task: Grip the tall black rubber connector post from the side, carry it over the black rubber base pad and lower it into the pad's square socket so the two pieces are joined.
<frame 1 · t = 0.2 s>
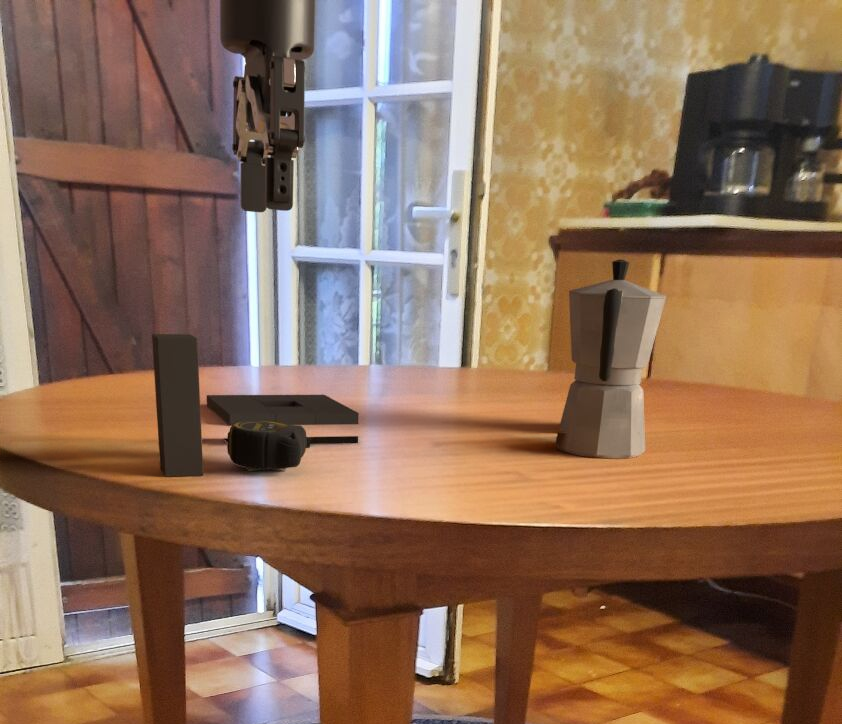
hand: (265, 210, 91), 21 cm above the table, tool pointing down, fingers open, 8 cm apart
coffeepot: (598, 454, 110), on the table
base pad: (280, 433, 112), on the table
tape measure: (275, 471, 95), on the table
connector: (181, 472, 92), on the table
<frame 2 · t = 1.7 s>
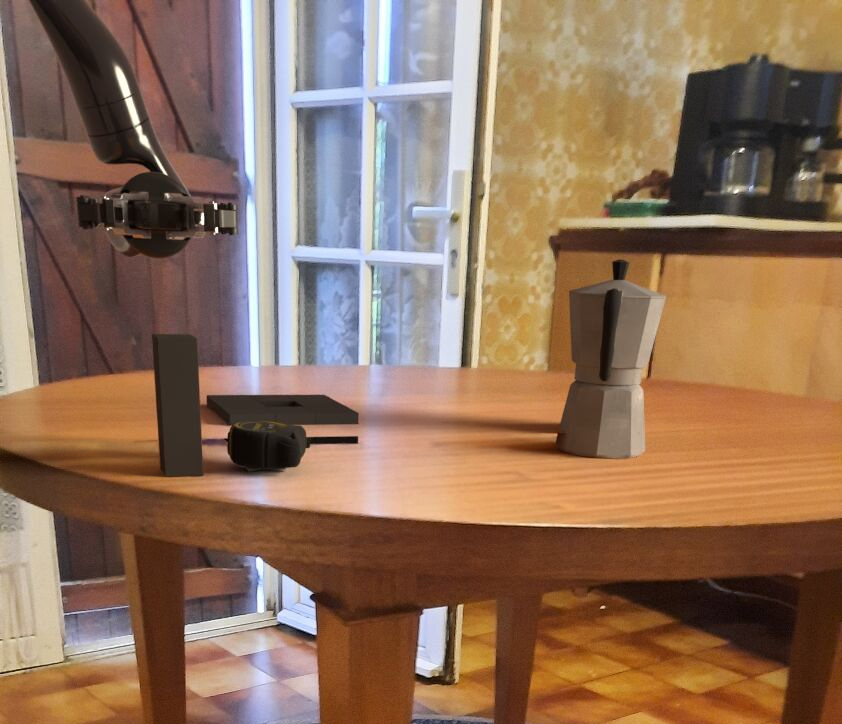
hand: (161, 215, 93), 20 cm above the table, tool horizontal, fingers open, 8 cm apart
nothing on the table moved.
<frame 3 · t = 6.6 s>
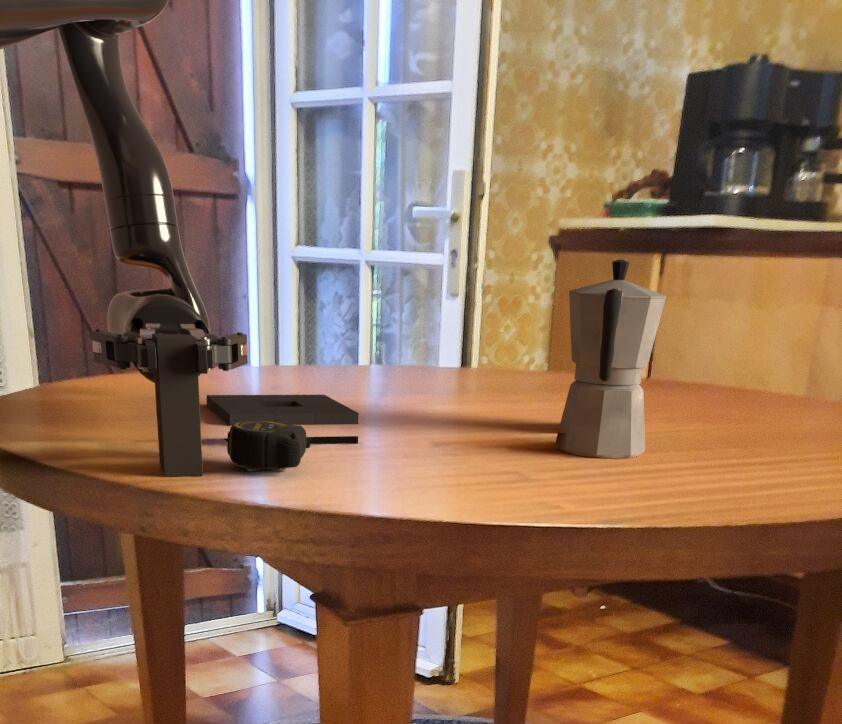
hand: (177, 359, 85), 9 cm above the table, tool horizontal, fingers closed on connector, 3 cm apart
connector: (181, 472, 92), on the table, touching gripper
everything else where it was.
when the fingers open (9 cm above the table, at t = 15.1 s): connector stays where it is, resting in base pad.
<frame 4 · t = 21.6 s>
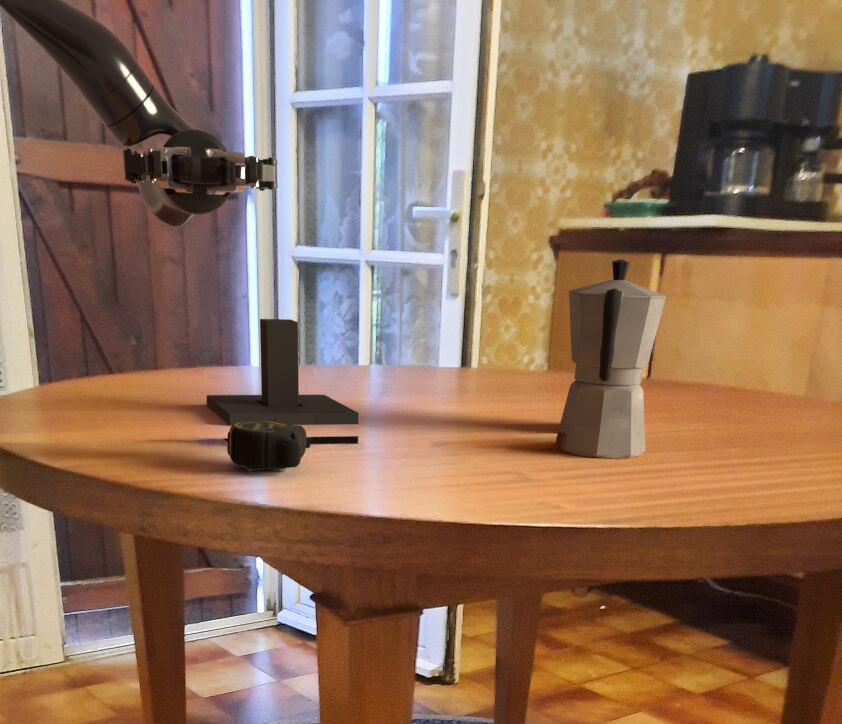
hand: (206, 167, 96), 24 cm above the table, tool horizontal, fingers open, 8 cm apart
connector: (280, 433, 112), resting in base pad
everything else where it was.
at the end: connector 0.1 cm off-centre in the base pad, point 0.0 cm above the base pad's base; connector tilted 0°; the gripper is holding nothing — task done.
